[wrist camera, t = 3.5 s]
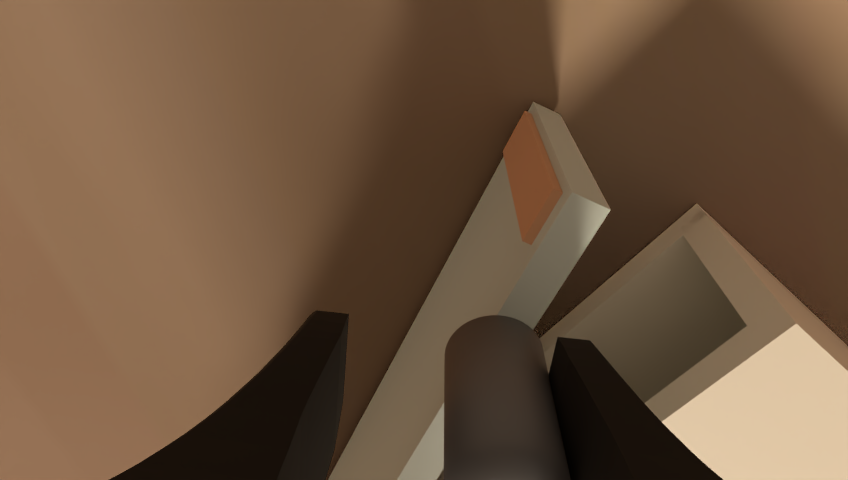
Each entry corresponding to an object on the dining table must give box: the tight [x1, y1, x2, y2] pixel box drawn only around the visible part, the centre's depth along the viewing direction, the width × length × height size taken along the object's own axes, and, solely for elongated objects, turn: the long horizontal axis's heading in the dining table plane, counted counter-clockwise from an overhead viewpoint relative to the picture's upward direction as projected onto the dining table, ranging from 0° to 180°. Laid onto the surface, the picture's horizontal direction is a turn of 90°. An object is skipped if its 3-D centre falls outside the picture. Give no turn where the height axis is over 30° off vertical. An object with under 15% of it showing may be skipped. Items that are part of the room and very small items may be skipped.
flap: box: [328, 102, 611, 480], centre depth 16 cm, size 16×2×10 cm, turn 155°
